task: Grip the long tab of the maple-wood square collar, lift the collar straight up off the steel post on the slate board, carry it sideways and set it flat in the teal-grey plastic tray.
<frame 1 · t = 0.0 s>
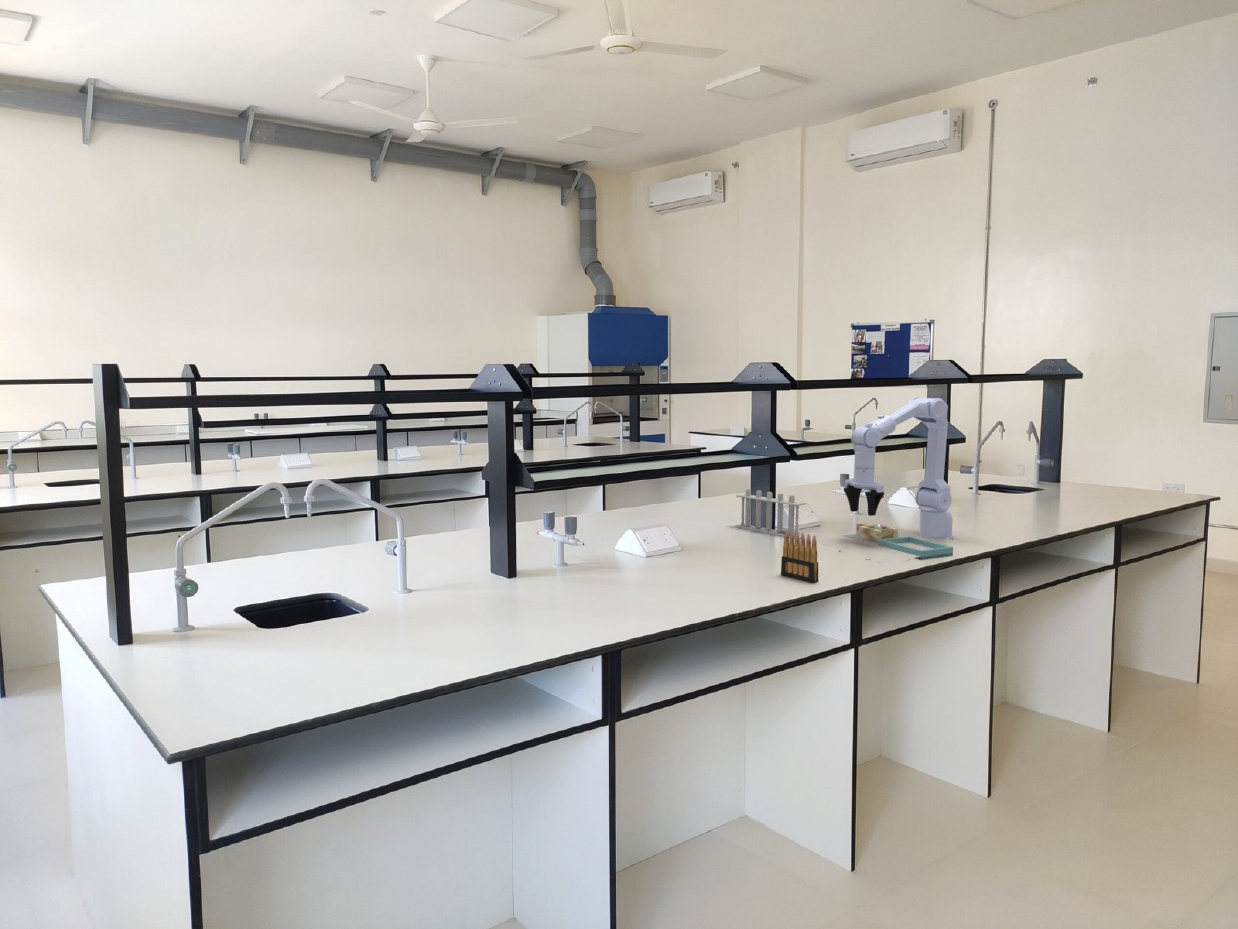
hand: (862, 513, 250), 10 cm above the countertop, tool pointing down, fingers open, 7 cm apart
tray: (914, 551, 245), on the countertop
maple collar: (878, 538, 258), point 1 cm above the countertop, touching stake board
test tube rack: (768, 533, 273), on the countertop
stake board: (877, 542, 258), on the countertop
ammunition clip: (799, 579, 215), on the countertop
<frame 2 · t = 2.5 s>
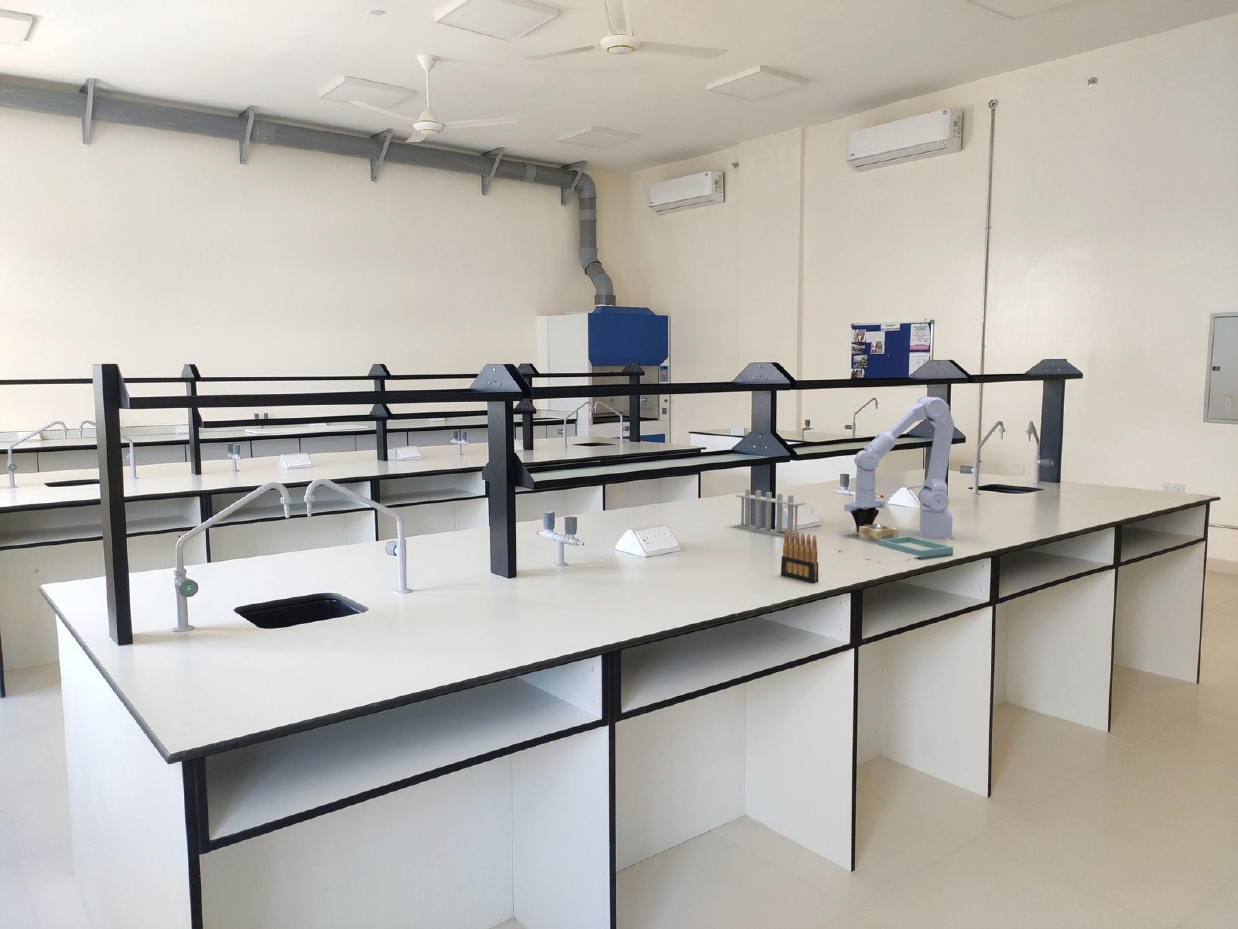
hand: (863, 532, 263), 2 cm above the countertop, tool pointing down, fingers closed on maple collar, 2 cm apart
maple collar: (878, 538, 258), point 1 cm above the countertop, touching gripper, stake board
everything else where it was.
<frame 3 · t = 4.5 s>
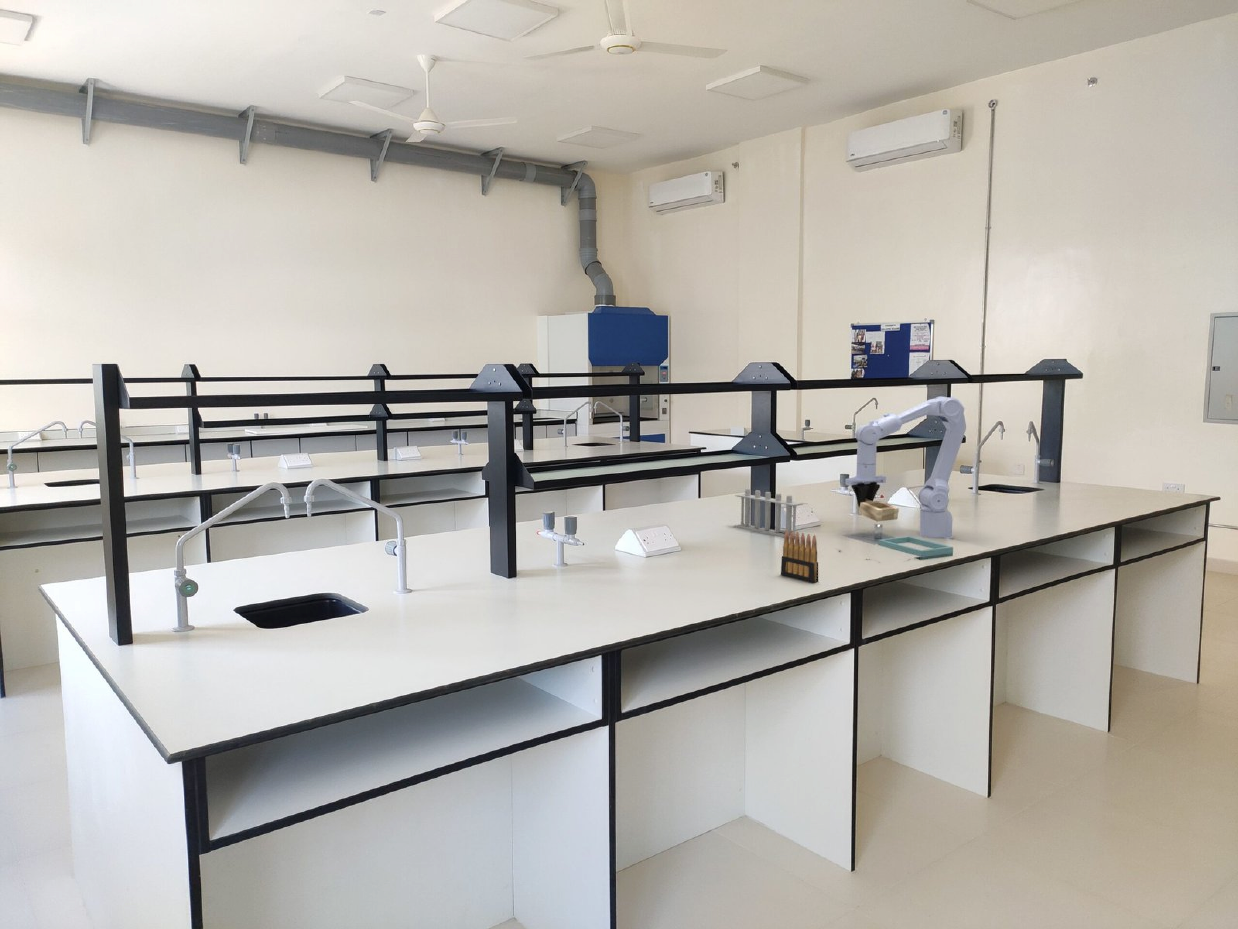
hand: (864, 507, 262), 10 cm above the countertop, tool pointing down, fingers closed on maple collar, 2 cm apart
maple collar: (877, 516, 257), point 8 cm above the countertop, tilted 8°, touching gripper
everything else where it was.
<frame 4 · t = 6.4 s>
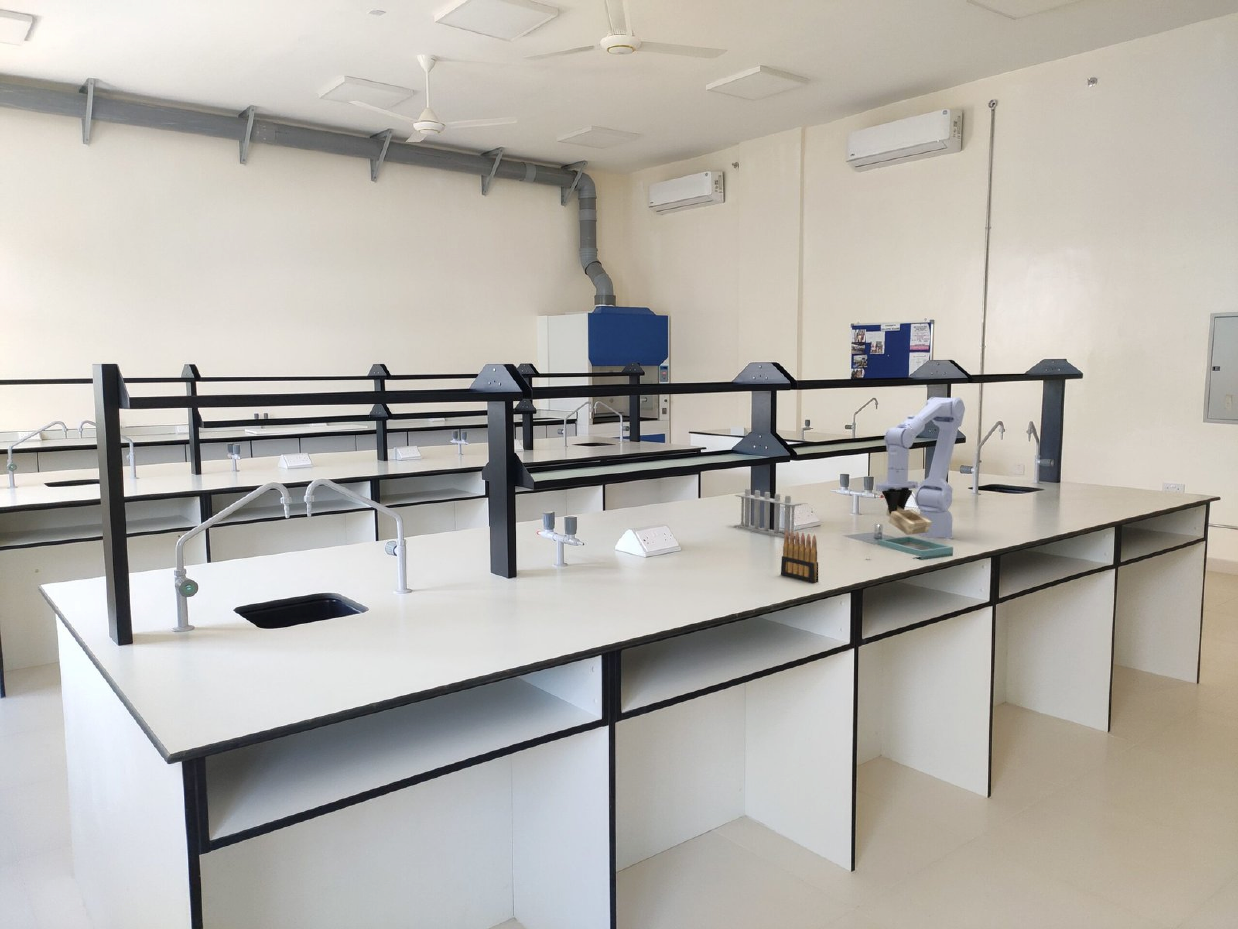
hand: (896, 513, 250), 10 cm above the countertop, tool pointing down, fingers closed on maple collar, 2 cm apart
maple collar: (908, 527, 246), point 7 cm above the countertop, tilted 17°, touching gripper
everything else where it was.
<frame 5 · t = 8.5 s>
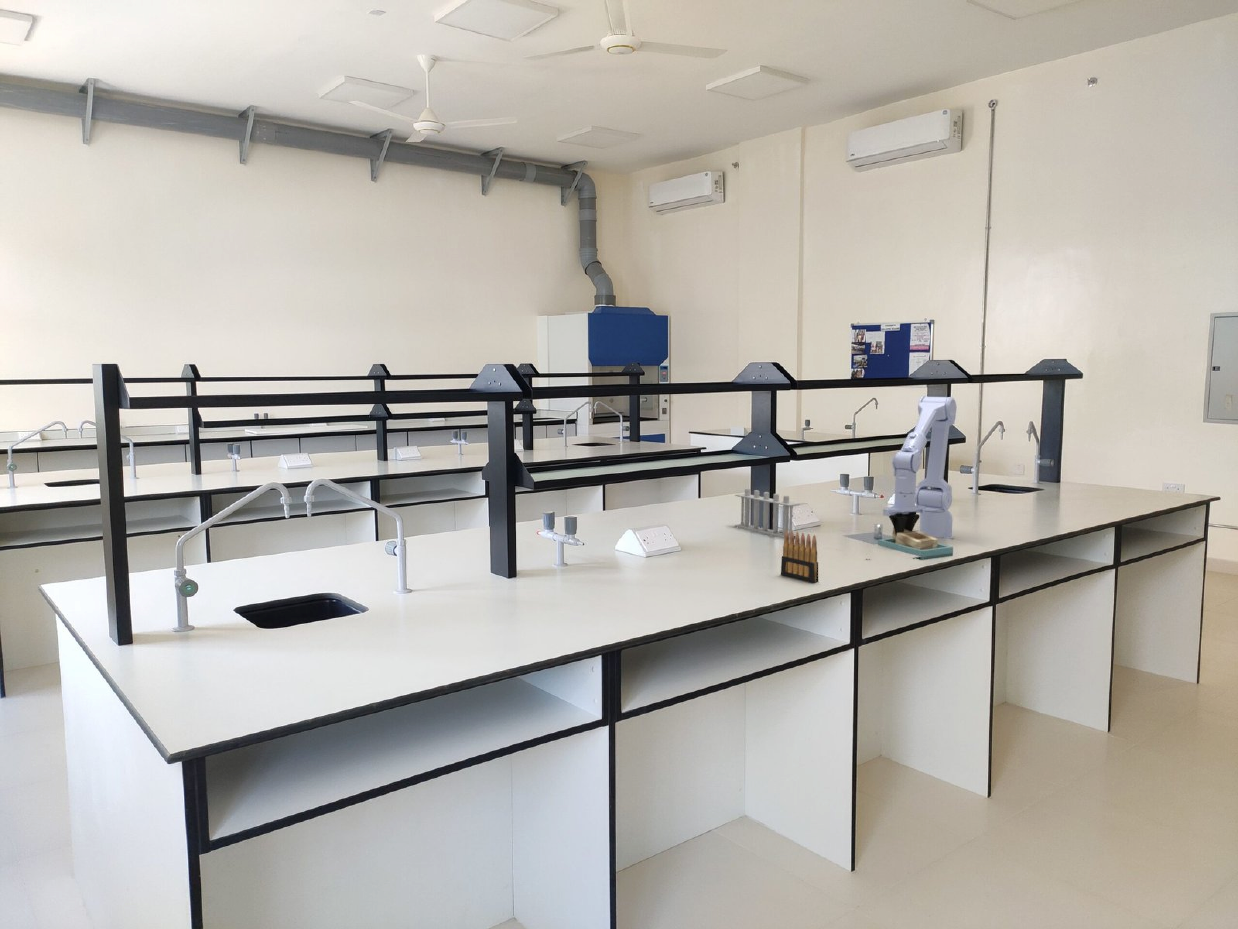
hand: (903, 538, 248), 3 cm above the countertop, tool pointing down, fingers closed on maple collar, 2 cm apart
maple collar: (915, 547, 244), point 1 cm above the countertop, tilted 8°, touching gripper, tray
when the fingers open (3 cm above the countertop, at t = 10.2 s): maple collar moves 3 cm, resting on tray.
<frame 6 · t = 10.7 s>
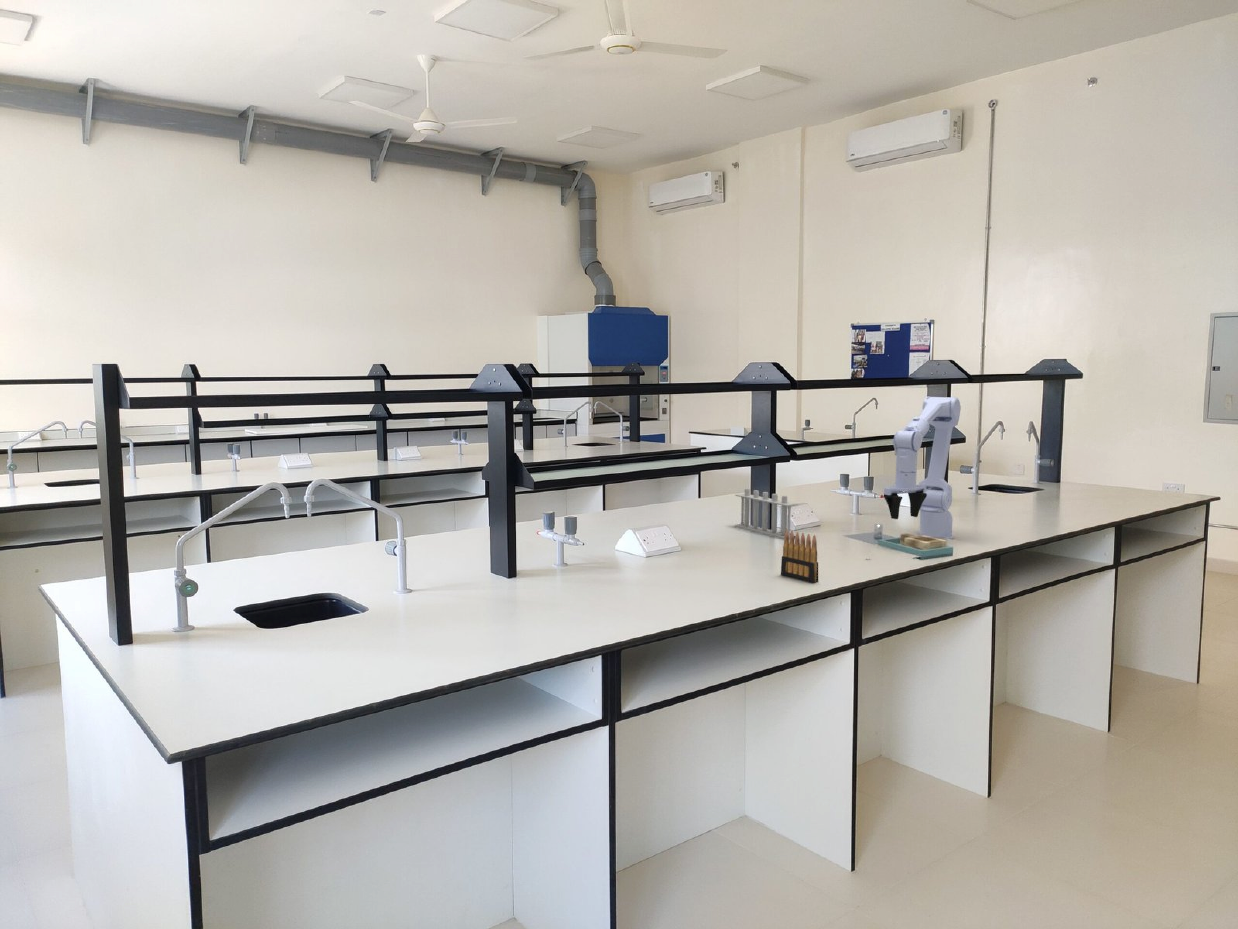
hand: (904, 517, 248), 9 cm above the countertop, tool pointing down, fingers open, 7 cm apart
maple collar: (924, 551, 242), point 1 cm above the countertop, touching tray
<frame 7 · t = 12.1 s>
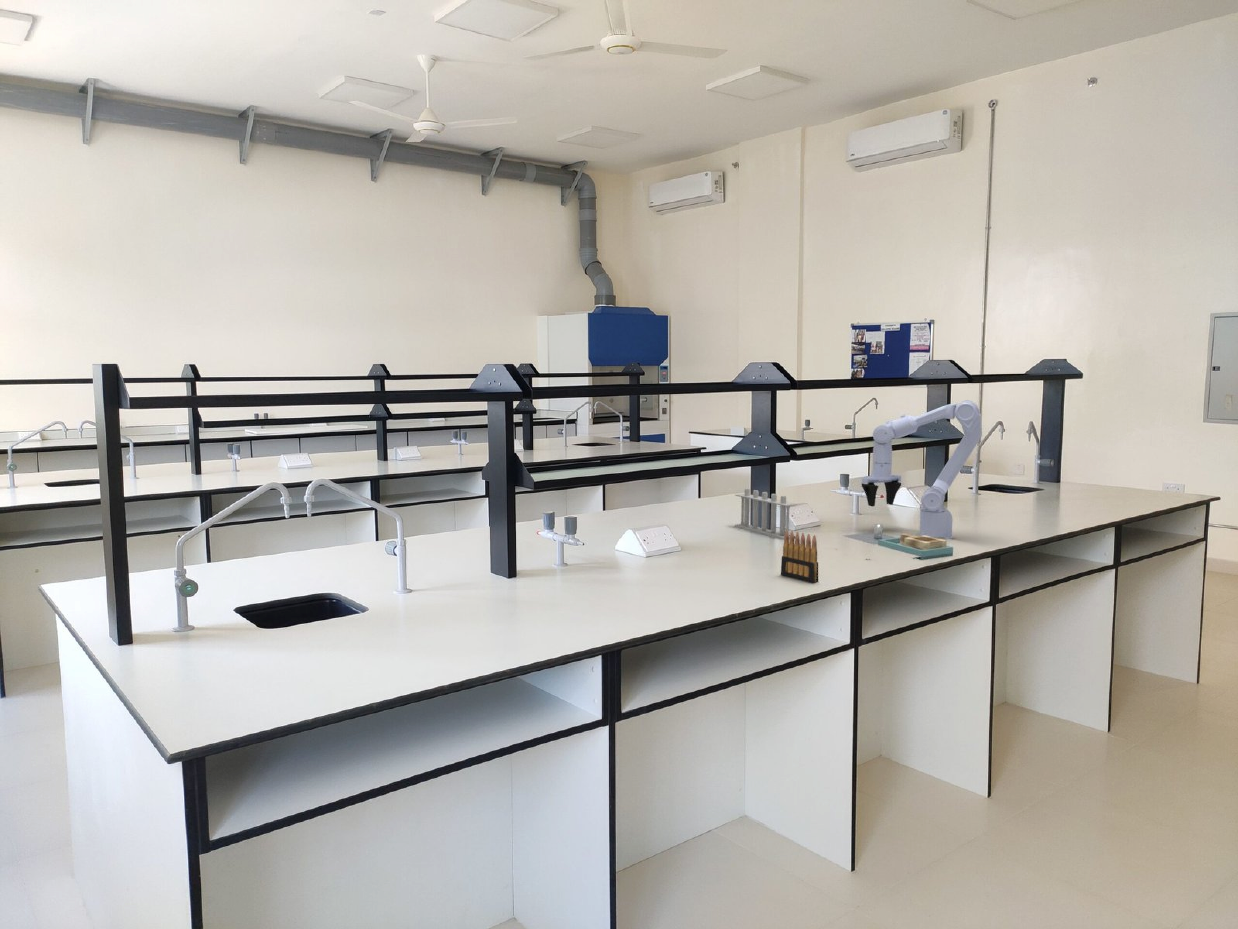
hand: (880, 505, 269), 9 cm above the countertop, tool pointing down, fingers open, 7 cm apart
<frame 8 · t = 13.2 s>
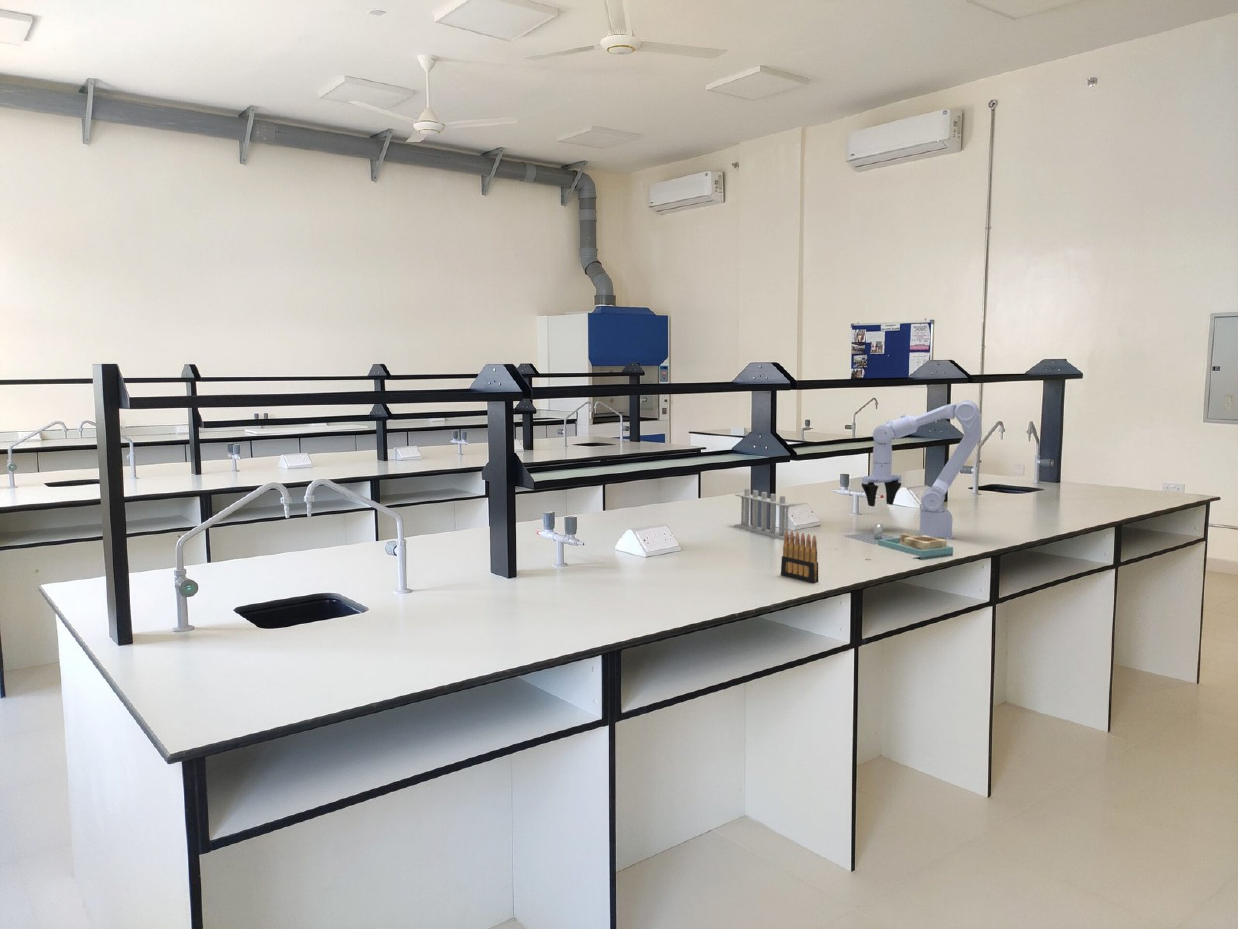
hand: (880, 505, 269), 9 cm above the countertop, tool pointing down, fingers open, 7 cm apart
at the end: maple collar 2.3 cm from the target spot on the tray, point 0.8 cm above the tray's base; maple collar tilted 0°; the gripper is holding nothing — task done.
